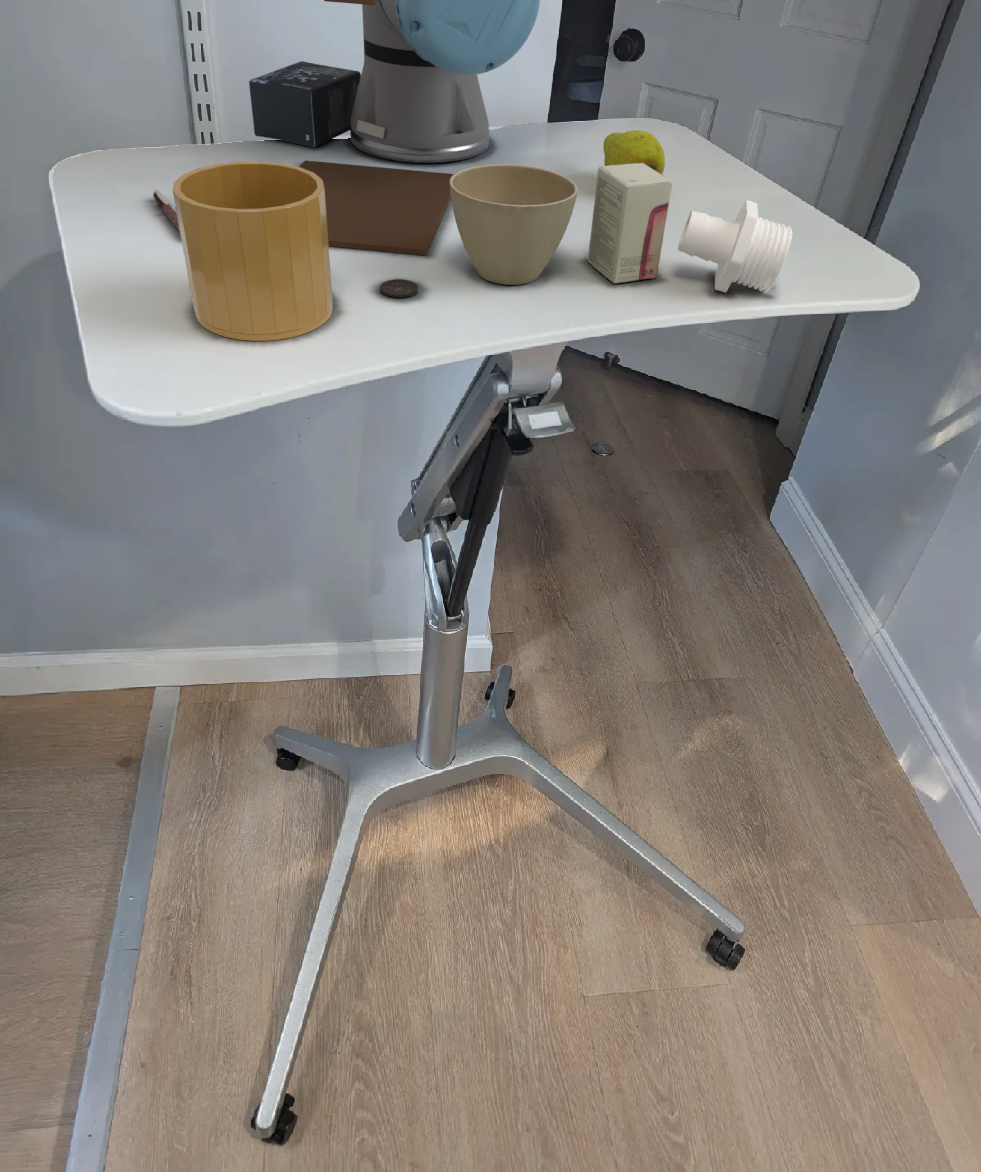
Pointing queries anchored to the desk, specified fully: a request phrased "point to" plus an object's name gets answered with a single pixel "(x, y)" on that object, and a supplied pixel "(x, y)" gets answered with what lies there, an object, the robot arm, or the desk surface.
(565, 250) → the desk surface
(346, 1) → the block
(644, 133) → the fruit
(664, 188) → the small box
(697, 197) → the desk surface
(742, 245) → the pipe fitting
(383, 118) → the robot arm
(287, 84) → the box
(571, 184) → the bowl
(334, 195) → the mat
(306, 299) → the wooden pot
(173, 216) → the pen
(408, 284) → the coin
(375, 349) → the desk surface
